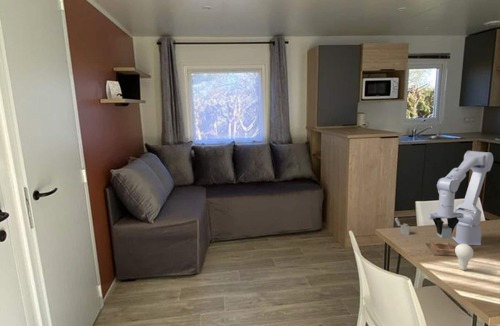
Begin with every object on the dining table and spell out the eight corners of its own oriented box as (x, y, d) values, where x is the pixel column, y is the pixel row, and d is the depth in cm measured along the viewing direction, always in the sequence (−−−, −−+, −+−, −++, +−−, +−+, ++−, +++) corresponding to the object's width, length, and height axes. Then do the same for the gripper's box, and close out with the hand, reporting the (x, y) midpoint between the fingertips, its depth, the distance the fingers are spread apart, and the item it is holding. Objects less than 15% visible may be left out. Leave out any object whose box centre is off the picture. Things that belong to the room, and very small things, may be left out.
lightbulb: (466, 275, 119) (468, 249, 117) (450, 268, 124) (452, 243, 123) (475, 271, 122) (477, 245, 120) (459, 264, 127) (460, 239, 125)
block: (445, 234, 141) (446, 225, 140) (451, 238, 137) (451, 228, 136) (436, 234, 141) (437, 225, 140) (441, 238, 137) (442, 228, 136)
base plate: (451, 245, 144) (452, 241, 143) (462, 257, 133) (462, 252, 133) (426, 244, 146) (426, 240, 146) (434, 255, 136) (434, 251, 135)
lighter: (409, 233, 159) (410, 219, 158) (409, 234, 158) (409, 220, 157) (394, 231, 164) (395, 216, 162) (394, 232, 162) (394, 218, 161)
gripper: (457, 201, 140) (455, 229, 142) (424, 202, 140) (423, 230, 143) (467, 206, 133) (465, 235, 135) (433, 207, 133) (431, 236, 136)
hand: (444, 233), depth 138 cm, fingers closed on block, 4 cm apart
